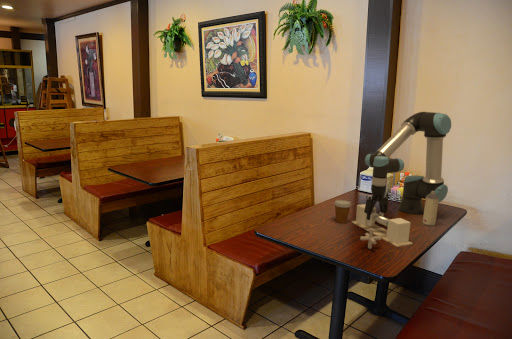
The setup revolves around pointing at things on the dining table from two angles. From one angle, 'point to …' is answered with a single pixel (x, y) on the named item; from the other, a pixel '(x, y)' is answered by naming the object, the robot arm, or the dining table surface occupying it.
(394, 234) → the socket
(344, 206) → the disposable coffee cup
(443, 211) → the dining table surface
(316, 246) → the dining table surface
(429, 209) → the aerosol can
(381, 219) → the tube
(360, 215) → the sleeve
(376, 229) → the board
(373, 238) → the pipe connector
